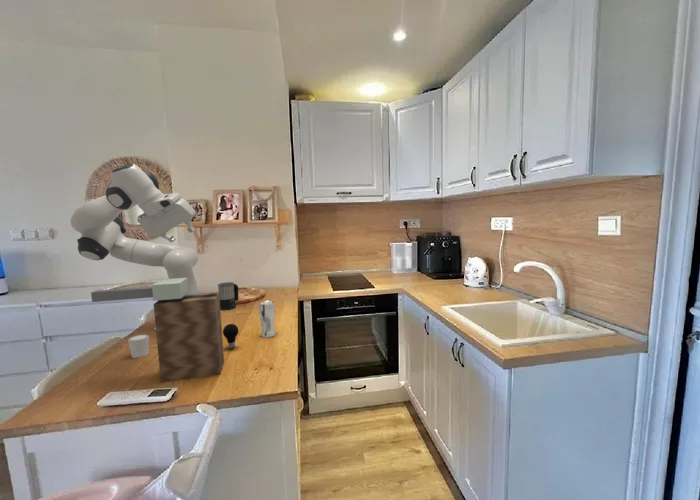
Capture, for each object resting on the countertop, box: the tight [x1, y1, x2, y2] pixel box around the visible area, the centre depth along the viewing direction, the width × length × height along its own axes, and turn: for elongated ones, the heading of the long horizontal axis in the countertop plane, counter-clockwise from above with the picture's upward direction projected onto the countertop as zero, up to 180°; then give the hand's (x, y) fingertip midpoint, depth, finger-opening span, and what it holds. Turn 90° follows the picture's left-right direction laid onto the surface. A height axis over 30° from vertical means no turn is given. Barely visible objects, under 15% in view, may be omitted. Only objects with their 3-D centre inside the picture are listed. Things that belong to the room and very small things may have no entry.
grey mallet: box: [90, 278, 189, 303], centre depth 103 cm, size 26×10×5 cm, turn 105°
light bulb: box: [222, 323, 239, 349], centre depth 128 cm, size 6×6×10 cm
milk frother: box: [217, 281, 239, 311], centre depth 189 cm, size 14×16×15 cm
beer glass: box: [258, 300, 276, 339], centre depth 141 cm, size 7×7×15 cm
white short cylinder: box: [127, 334, 150, 359], centre depth 124 cm, size 7×7×7 cm
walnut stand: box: [153, 291, 225, 383], centre depth 108 cm, size 18×10×27 cm, turn 105°
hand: (182, 236), depth 120 cm, fingers open, 8 cm apart
